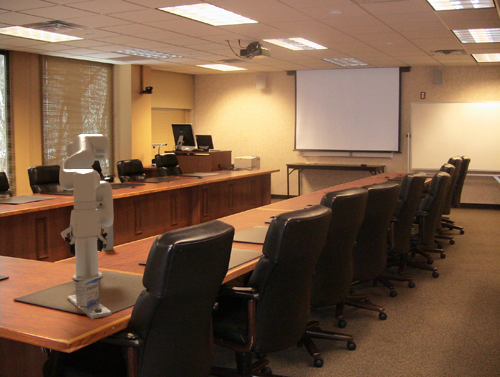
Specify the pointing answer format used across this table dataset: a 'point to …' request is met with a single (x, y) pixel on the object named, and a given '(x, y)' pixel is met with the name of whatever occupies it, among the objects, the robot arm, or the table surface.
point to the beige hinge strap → (92, 309)
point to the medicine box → (87, 291)
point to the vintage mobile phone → (108, 240)
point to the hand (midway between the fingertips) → (86, 252)
